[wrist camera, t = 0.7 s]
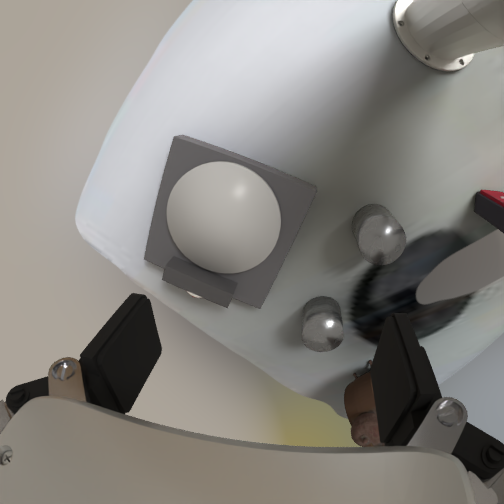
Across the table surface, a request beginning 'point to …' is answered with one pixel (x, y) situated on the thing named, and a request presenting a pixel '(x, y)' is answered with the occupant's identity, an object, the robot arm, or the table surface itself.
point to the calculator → (491, 207)
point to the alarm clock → (362, 411)
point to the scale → (224, 222)
